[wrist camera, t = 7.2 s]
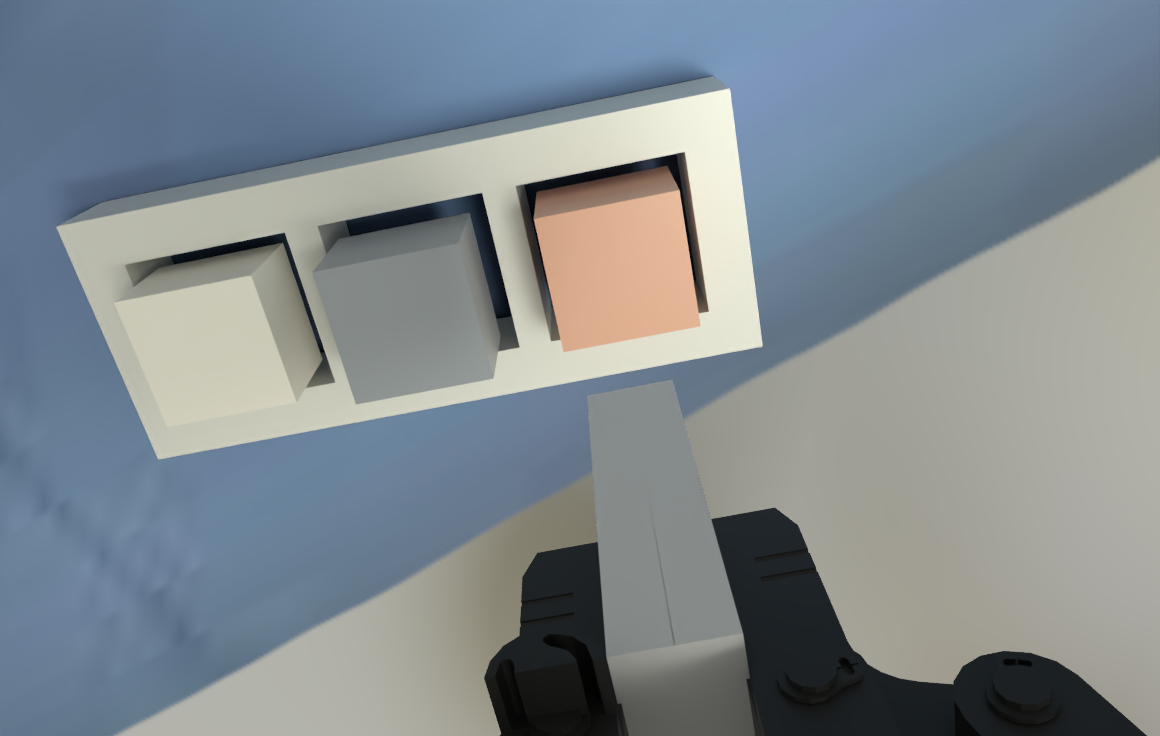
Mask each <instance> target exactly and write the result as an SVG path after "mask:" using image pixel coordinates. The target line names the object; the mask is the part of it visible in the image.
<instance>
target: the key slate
mask: <svg viewBox="0 0 1160 736" xmlns="http://www.w3.org/2000/svg"><path fill="white" fill-rule="evenodd" d="M312 273H313V276H314V279H315V282H316V285H317V288H318V291H319V294H320V297H321V300H322V303H323V306H324V309H325V312H326V316H327V319H328V322H329V325H330V328H331V331H332V334H333V337H334V340H335V343H336V346H337V349H338V352H339V355H340V358H341V361H342V364H343V367H344V370H345V373H346V376H347V379H348V382H349V385H350V388H351V391H352V394H353V397H354V400H355V403H356V404H362V403H367V402H372V401H378V400H383V399H388V398H393V397H399V396H404V395H409V394H415V393H420V392H425V391H431V390H436V389H441V388H447V387H452V386H457V385H462V384H468V383H473V382H478V381H484V380H489V379H494V373H495V367H496V361H497V355H498V349H499V343H500V332H499V328H498V324H497V320H496V316H495V312H494V308H493V304H492V300H491V296H490V292H489V288H488V284H487V280H486V276H485V272H484V268H483V264H482V260H481V256H480V252H479V248H478V244H477V240H476V236H475V232H474V228H473V224H472V220H471V216H470V213H465V214H460V215H455V216H450V217H445V218H440V219H435V220H430V221H425V222H420V223H415V224H410V225H405V226H400V227H395V228H390V229H385V230H380V231H375V232H370V233H365V234H360V235H355V236H350V237H345V238H340V239H338V240H337V242H336V243H335V244H334V245H333V247H332V248H331V249H330V250H329V252H328V253H327V254H326V255H325V257H324V258H323V259H322V260H321V262H320V263H319V264H318V266H317V267H316V268H315V269H314V271H313V272H312Z"/></svg>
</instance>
